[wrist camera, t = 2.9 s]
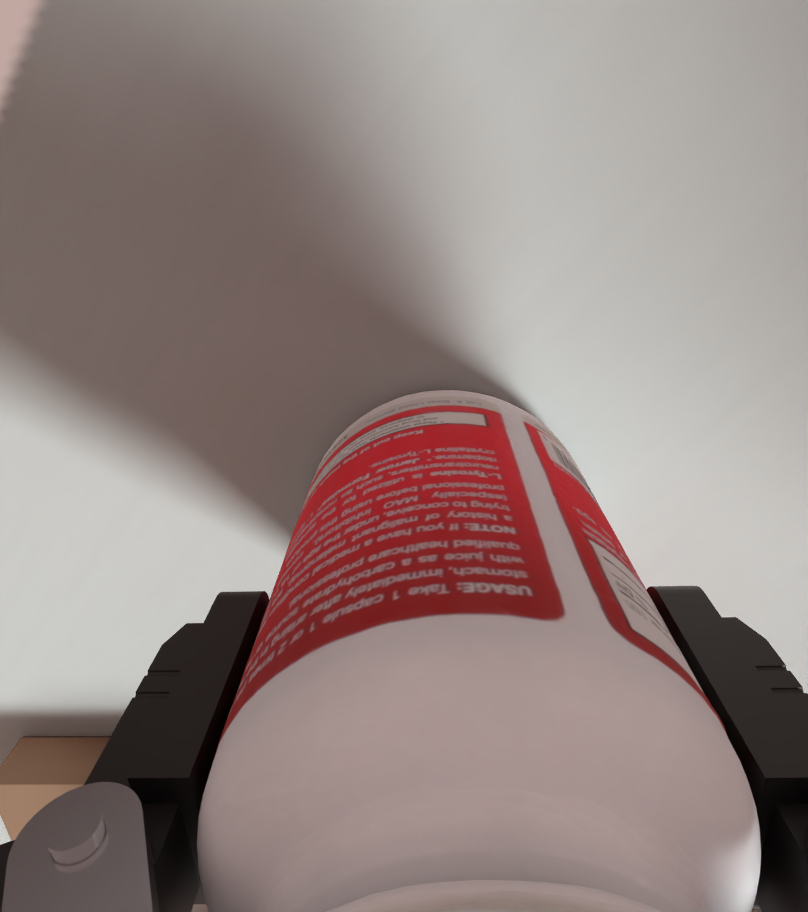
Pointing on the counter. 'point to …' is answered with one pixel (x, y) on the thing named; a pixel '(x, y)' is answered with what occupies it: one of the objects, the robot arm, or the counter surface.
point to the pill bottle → (468, 698)
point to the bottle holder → (46, 777)
